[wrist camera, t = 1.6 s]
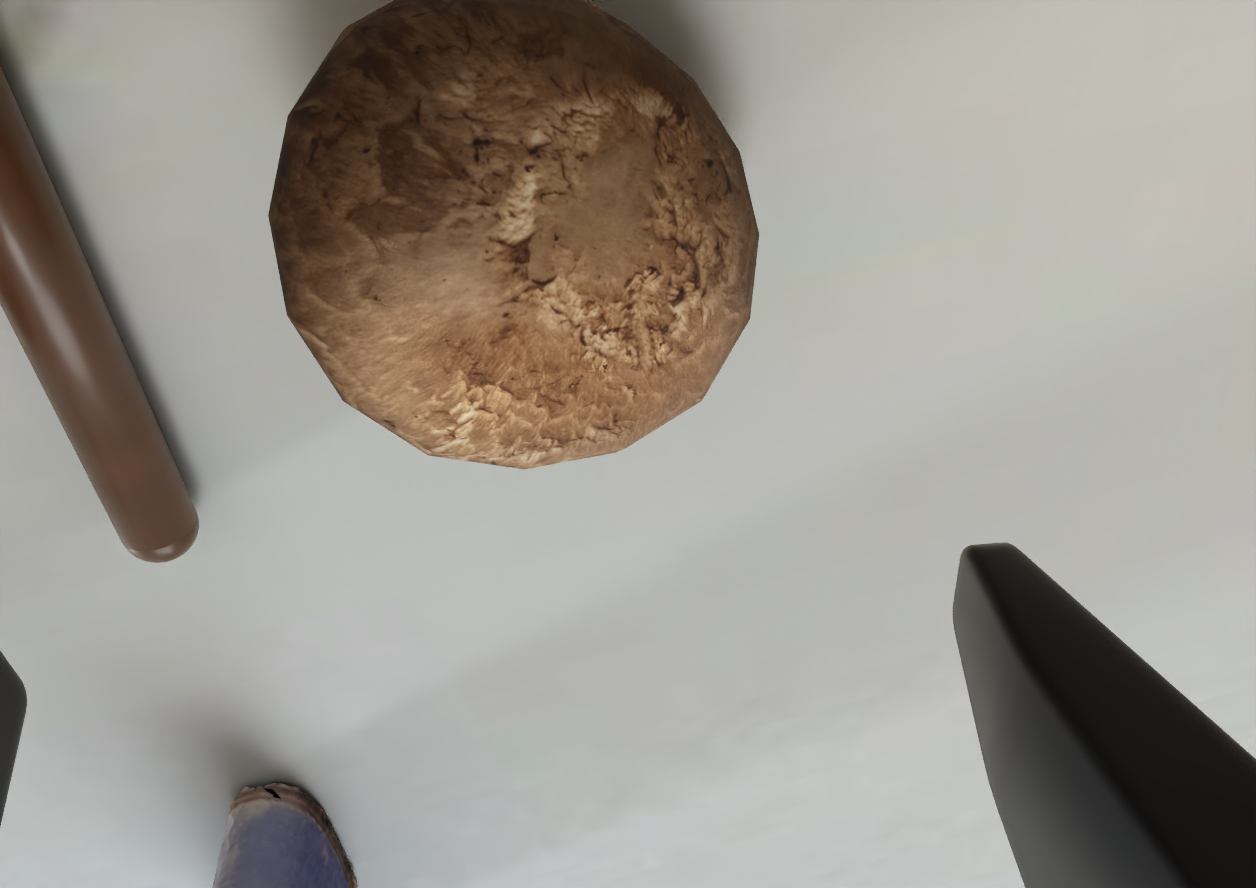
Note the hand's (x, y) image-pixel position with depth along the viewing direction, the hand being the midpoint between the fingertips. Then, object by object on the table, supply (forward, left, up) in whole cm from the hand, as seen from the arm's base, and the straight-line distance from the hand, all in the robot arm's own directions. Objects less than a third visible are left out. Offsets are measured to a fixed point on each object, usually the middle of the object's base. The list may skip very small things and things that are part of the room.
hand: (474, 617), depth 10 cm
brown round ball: (-1, 0, -12) cm, 12 cm away
